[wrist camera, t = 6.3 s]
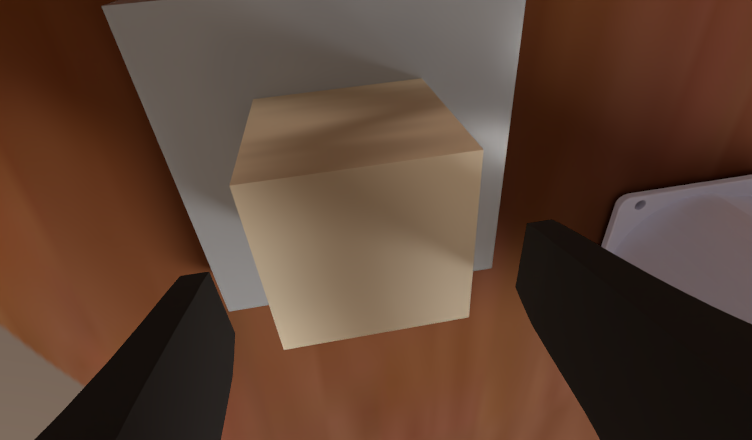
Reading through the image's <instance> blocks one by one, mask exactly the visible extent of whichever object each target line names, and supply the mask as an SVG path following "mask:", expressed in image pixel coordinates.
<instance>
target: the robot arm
mask: <svg viewBox="0 0 752 440" xmlns="http://www.w3.org/2000/svg"><path fill="white" fill-rule="evenodd" d="M636 203H637V204H636ZM516 289H517V292H518V294H519V296H520V299H521V301H522V304H523V306H524V308H525V310H526V313H527V315H528V317H529V319H530V321H531V323H532V325H533V327H534V329H535V331H536V332H537V334H538V336H539V337H540V339H541V341H542V342H543V344H544V346H545V347H546V349H547V351H548V352H549V354H550V356H551V357H552V359H553V361H554V362H555V364H556V366H557V367H558V369H559V370H560V372H561V374H562V375H563V377H564V379H565V380H566V382H567V384H568V385H569V387H570V388H571V390H572V392H573V393H574V395H575V397H576V398H577V400H578V402H579V403H580V405H581V406H582V408H583V410H584V411H585V413H586V415H587V417H588V418H589V420H590V422H591V424H592V426H593V427H594V429H595V431H596V433H597V435H598V437H599V439H600V440H752V175H745V176H739V177H732V178H726V179H719V180H713V181H706V182H700V183H693V184H687V185H680V186H674V187H667V188H661V189H654V190H648V191H641V192H635V193H628V194H625V195H623V196H621V197H620V198H619V199H618V200H617V201H616V203H615V206H614V209H613V212H612V215H611V218H610V221H609V224H608V227H607V230H606V233H605V236H604V239H603V242H602V245H601V246H599V245H598V244H596V243H594V242H592V241H591V240H589V239H587V238H585V237H584V236H582V235H580V234H578V233H577V232H575V231H573V230H571V229H569V228H568V227H566V226H564V225H562V224H560V223H558V222H556V221H554V220H546V221H539V222H533V223H527V226H526V231H525V237H524V243H523V248H522V254H521V259H520V265H519V271H518V276H517V282H516ZM234 344H235V332H234V330H233V327H232V325H231V323H230V320H229V318H228V315H227V313H226V311H225V308H224V306H223V304H222V301H221V299H220V297H219V294H218V292H217V289H216V287H215V285H214V282H213V280H212V278H211V275H210V273H209V272H204V273H197V274H191V275H184V276H180V277H179V278H178V279H177V280H176V282H175V283H174V284H173V285H172V286H171V287H170V289H169V290H168V291H167V292H166V293H165V295H164V296H163V297H162V298H161V300H160V301H159V302H158V303H157V304H156V306H155V307H154V308H153V309H152V310H151V312H150V313H149V314H148V315H147V317H146V318H145V319H144V320H143V321H142V323H141V324H140V325H139V326H138V327H137V329H136V330H135V331H134V332H133V333H132V334H131V336H130V337H129V338H128V339H127V340H126V341H125V343H124V344H123V345H122V346H121V347H120V349H119V350H118V351H117V352H116V353H115V354H114V356H113V357H112V358H111V359H110V360H109V361H108V362H107V364H106V365H105V366H104V367H103V368H102V369H101V370H100V371H99V372H98V373H97V374H96V375H95V377H94V378H93V379H92V380H91V381H90V382H89V383H88V384H87V385H86V386H85V387H84V389H83V390H82V391H81V392H80V393H79V394H78V395H77V396H76V397H75V398H74V399H73V401H72V402H71V403H70V404H69V405H68V406H67V407H66V408H65V409H64V410H63V411H62V412H61V413H60V414H59V415H58V416H57V417H56V419H55V420H54V421H53V422H52V423H51V424H50V425H49V426H48V427H47V428H46V429H45V430H44V431H43V432H42V433H41V434H40V435H39V436H38V437H37V438H36V439H35V440H221V435H222V430H223V425H224V420H225V415H226V409H227V404H228V398H229V393H230V388H231V382H232V375H233V362H234Z"/></svg>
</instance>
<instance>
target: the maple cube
mask: <svg viewBox="0 0 752 440" xmlns="http://www.w3.org/2000/svg"><path fill="white" fill-rule="evenodd" d="M482 162H483V148H482V147H481V146H480V145H479V144H478V143H477V142H476V140H475V139H474V138H473V137H472V136H471V135H470V133H469V132H468V131H467V130H466V129H465V128H464V127H463V125H462V124H461V123H460V122H459V121H458V120H457V118H456V117H455V116H454V115H453V114H452V113H451V111H450V110H449V109H448V108H447V107H446V106H445V105H444V103H443V102H442V101H441V100H440V99H439V98H438V96H437V95H436V94H435V93H434V92H433V91H432V89H431V88H430V87H429V86H428V85H427V84H426V83H425V81H424V80H423V79H422V78H420V79H412V80H404V81H396V82H387V83H379V84H371V85H363V86H355V87H347V88H339V89H331V90H323V91H315V92H307V93H299V94H291V95H283V96H275V97H267V98H259V99H253V101H252V105H251V109H250V112H249V116H248V120H247V123H246V127H245V130H244V134H243V138H242V141H241V145H240V149H239V152H238V156H237V160H236V163H235V167H234V171H233V174H232V178H231V181H230V185H229V186H230V189H231V192H232V195H233V198H234V201H235V204H236V207H237V210H238V213H239V216H240V219H241V222H242V225H243V228H244V231H245V234H246V237H247V240H248V243H249V246H250V249H251V252H252V255H253V258H254V261H255V264H256V267H257V270H258V273H259V276H260V279H261V282H262V285H263V288H264V291H265V294H266V297H267V300H268V303H269V306H270V309H271V312H272V315H273V318H274V321H275V324H276V327H277V330H278V333H279V336H280V339H281V342H282V345H283V348H284V350H286V349H292V348H297V347H303V346H309V345H314V344H320V343H326V342H331V341H337V340H343V339H348V338H354V337H360V336H365V335H371V334H377V333H382V332H388V331H394V330H399V329H405V328H411V327H416V326H422V325H428V324H433V323H439V322H444V321H450V320H456V319H461V318H467V317H469V309H470V297H471V286H472V275H473V263H474V252H475V241H476V230H477V218H478V207H479V196H480V184H481V173H482Z"/></svg>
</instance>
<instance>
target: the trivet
mask: <svg viewBox="0 0 752 440" xmlns="http://www.w3.org/2000/svg"><path fill="white" fill-rule="evenodd" d="M525 3H526V0H117V1H114V2H111V3H109V4H106V5H103V6H101V7H102V9H103V12H104V14H105V16H106V19H107V21H108V23H109V26H110V28H111V31H112V33H113V35H114V38H115V40H116V43H117V45H118V47H119V50H120V52H121V55H122V57H123V59H124V62H125V64H126V66H127V69H128V71H129V74H130V76H131V78H132V81H133V83H134V86H135V88H136V90H137V93H138V95H139V98H140V100H141V102H142V105H143V107H144V110H145V112H146V114H147V117H148V119H149V121H150V124H151V126H152V129H153V131H154V133H155V136H156V138H157V141H158V143H159V145H160V148H161V150H162V153H163V155H164V157H165V160H166V162H167V164H168V167H169V169H170V172H171V174H172V176H173V179H174V181H175V184H176V186H177V188H178V191H179V193H180V196H181V198H182V200H183V203H184V205H185V208H186V210H187V212H188V215H189V217H190V219H191V222H192V224H193V227H194V229H195V231H196V234H197V236H198V239H199V241H200V243H201V246H202V248H203V251H204V253H205V255H206V258H207V260H208V262H209V265H210V267H211V270H212V272H213V274H214V277H215V279H216V282H217V284H218V286H219V289H220V291H221V294H222V296H223V298H224V301H225V303H226V306H227V308H228V310H229V311H235V310H241V309H247V308H253V307H259V306H265V305H269V303H268V300H267V297H266V294H265V291H264V288H263V285H262V282H261V279H260V276H259V273H258V270H257V267H256V264H255V261H254V258H253V255H252V252H251V249H250V246H249V243H248V240H247V237H246V234H245V231H244V228H243V225H242V222H241V219H240V216H239V213H238V210H237V207H236V204H235V201H234V198H233V195H232V192H231V189H230V186H229V185H230V181H231V178H232V174H233V171H234V167H235V163H236V160H237V156H238V152H239V149H240V145H241V141H242V138H243V134H244V130H245V127H246V123H247V120H248V116H249V112H250V109H251V105H252V101H253V99H259V98H267V97H275V96H283V95H291V94H299V93H307V92H315V91H323V90H331V89H339V88H347V87H355V86H363V85H371V84H379V83H387V82H396V81H404V80H412V79H420V78H422V79H423V80H424V81H425V83H426V84H427V85H428V86H429V87H430V88H431V89H432V91H433V92H434V93H435V94H436V95H437V96H438V98H439V99H440V100H441V101H442V102H443V103H444V105H445V106H446V107H447V108H448V109H449V110H450V111H451V113H452V114H453V115H454V116H455V117H456V118H457V120H458V121H459V122H460V123H461V124H462V125H463V127H464V128H465V129H466V130H467V131H468V132H469V133H470V135H471V136H472V137H473V138H474V139H475V140H476V142H477V143H478V144H479V145H480V146H481V147H482V148H483V162H482V173H481V184H480V196H479V207H478V218H477V230H476V241H475V252H474V263H473V271H477V270H483V269H489V268H492V261H493V254H494V246H495V238H496V230H497V222H498V214H499V207H500V199H501V191H502V183H503V175H504V168H505V160H506V152H507V144H508V136H509V128H510V121H511V113H512V105H513V97H514V89H515V81H516V74H517V66H518V58H519V50H520V42H521V35H522V27H523V19H524V11H525Z"/></svg>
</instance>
